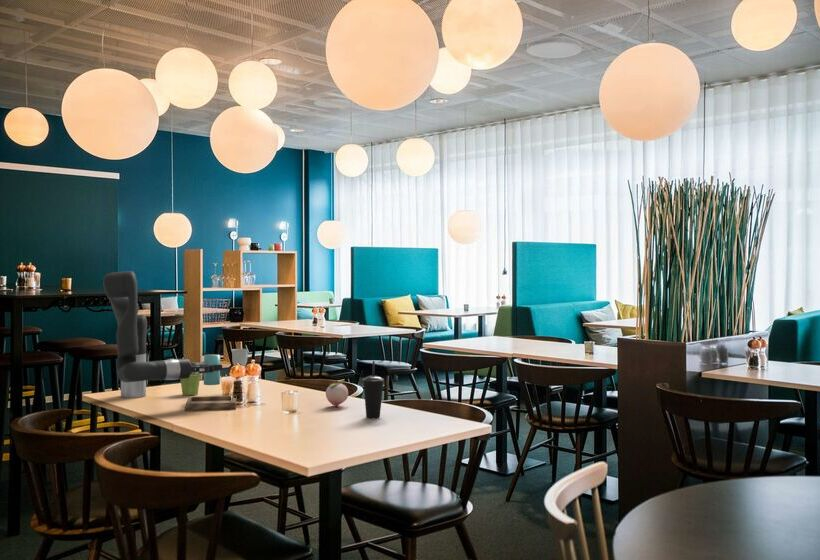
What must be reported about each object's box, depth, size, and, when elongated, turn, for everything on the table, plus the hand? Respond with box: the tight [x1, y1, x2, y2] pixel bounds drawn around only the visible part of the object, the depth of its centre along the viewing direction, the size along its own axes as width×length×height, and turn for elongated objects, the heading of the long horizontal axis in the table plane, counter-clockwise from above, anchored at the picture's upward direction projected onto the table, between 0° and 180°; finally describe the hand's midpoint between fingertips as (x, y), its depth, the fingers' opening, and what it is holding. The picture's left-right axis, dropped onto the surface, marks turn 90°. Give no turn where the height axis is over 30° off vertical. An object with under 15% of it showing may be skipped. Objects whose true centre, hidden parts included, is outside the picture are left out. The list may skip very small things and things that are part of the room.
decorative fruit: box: [325, 380, 349, 407], centre depth 287 cm, size 9×8×10 cm
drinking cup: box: [362, 360, 385, 419], centre depth 267 cm, size 8×8×20 cm
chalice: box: [230, 348, 249, 367], centre depth 320 cm, size 7×7×18 cm
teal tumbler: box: [203, 353, 221, 386], centre depth 284 cm, size 6×6×11 cm
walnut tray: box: [185, 395, 237, 411], centre depth 285 cm, size 18×16×2 cm
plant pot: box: [179, 373, 203, 397], centre depth 311 cm, size 9×9×9 cm
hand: (217, 366), depth 286 cm, fingers closed on teal tumbler, 6 cm apart
